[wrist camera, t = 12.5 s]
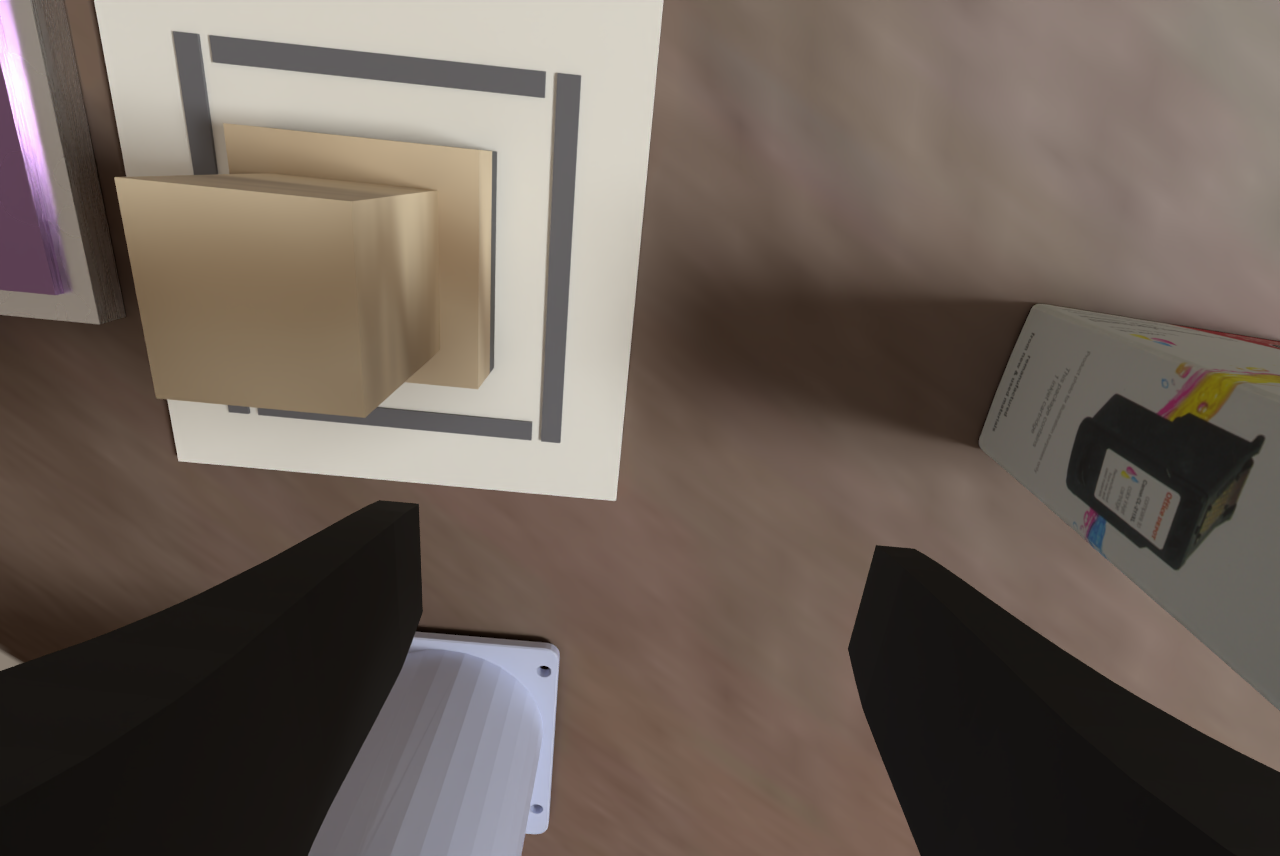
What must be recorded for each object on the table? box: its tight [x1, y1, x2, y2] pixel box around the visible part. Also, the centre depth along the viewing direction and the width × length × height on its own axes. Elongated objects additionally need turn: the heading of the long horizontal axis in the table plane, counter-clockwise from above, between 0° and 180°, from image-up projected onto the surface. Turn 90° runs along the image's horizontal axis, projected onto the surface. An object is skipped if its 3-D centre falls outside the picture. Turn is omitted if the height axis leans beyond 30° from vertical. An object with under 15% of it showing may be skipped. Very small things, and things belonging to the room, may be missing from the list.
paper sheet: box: [94, 0, 663, 501], centre depth 19 cm, size 14×14×1 cm
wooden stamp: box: [114, 123, 497, 418], centre depth 15 cm, size 6×6×7 cm
